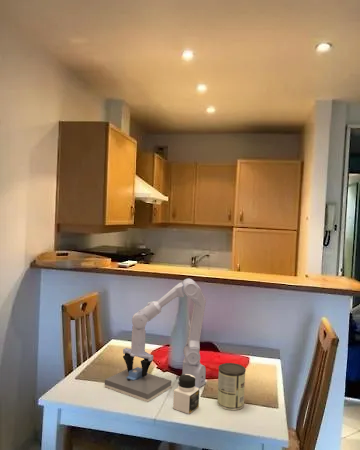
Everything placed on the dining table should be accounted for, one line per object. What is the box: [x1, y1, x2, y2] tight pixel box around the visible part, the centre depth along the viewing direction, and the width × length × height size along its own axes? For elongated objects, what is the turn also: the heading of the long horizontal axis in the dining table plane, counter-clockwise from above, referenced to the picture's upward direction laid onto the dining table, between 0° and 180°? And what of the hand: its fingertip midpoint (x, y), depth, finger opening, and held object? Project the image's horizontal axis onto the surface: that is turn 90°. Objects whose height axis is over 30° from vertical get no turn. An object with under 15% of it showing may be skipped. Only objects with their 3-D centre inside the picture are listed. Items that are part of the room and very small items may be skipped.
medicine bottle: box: [172, 374, 200, 415], centre depth 153 cm, size 7×7×12 cm
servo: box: [126, 366, 142, 381], centre depth 173 cm, size 4×10×5 cm, turn 148°
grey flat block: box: [104, 368, 172, 403], centre depth 169 cm, size 22×16×3 cm
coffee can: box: [217, 362, 247, 411], centre depth 157 cm, size 10×10×14 cm
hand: (137, 373), depth 173 cm, fingers open, 7 cm apart
